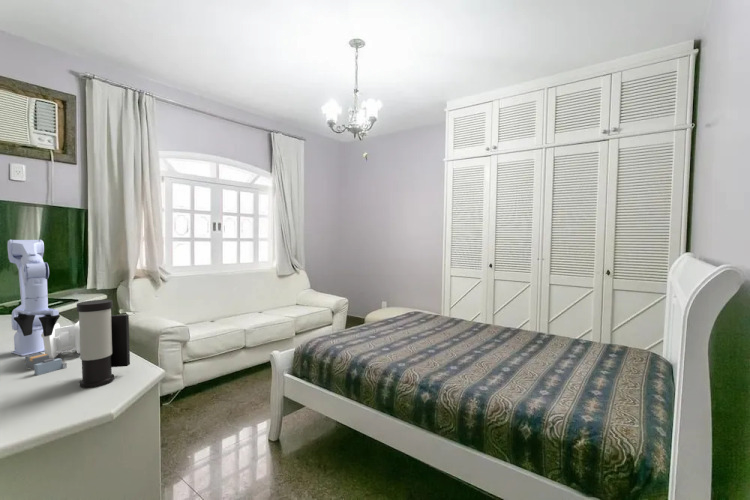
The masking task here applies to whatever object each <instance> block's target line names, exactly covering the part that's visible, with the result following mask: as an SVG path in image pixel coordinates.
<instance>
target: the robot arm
mask: <svg viewBox="0 0 750 500" xmlns="http://www.w3.org/2000/svg"><path fill="white" fill-rule="evenodd" d="M44 253H45V244H44V241H43V240H42V239H9V240H7V254H8V260H9V263H12V264H13V265H16V267H17V269H18V270H17V271H18V279H19V290H20V295H19V296H20V305H18V306H17V307H16V308H14V309H13V310H12V312H11V329H12V330H13V331H16V332H15V333H14V336H13V345H14V346H13V347H14V350H13V351H10V352H11V354H15V355H17V356H22V357H23V356H24V357H25V356H29V355H33V354H38V353H41V352H45V348H44V341H43V338H42V337H41V334H42V332H43V334H44V336H45V337H46V336H50V335H52V332H53V329H54V326H55V324H56V323H58V322H57V321H58V320H59V318H60V317H61V316H60V313H59V312H60V311H59V309H58V308H57V309H55V308H49V299H48V298H49V296H48V295H49V294H48V293H49V292H48V279H49V276H50V268H49V264H48V262H45V261H44V259H43V257H44Z"/></svg>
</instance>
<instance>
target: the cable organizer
mask: <svg viewBox="0 0 750 500" xmlns="http://www.w3.org/2000/svg"><path fill="white" fill-rule="evenodd" d="M41 337H42V338H43V341H44V348H45V351H44V354H48V355H49V359H56V358H57V356H58V355H59V354H60V355H62V354H63V352H66V351H67V352H68V351H71V352H72V353H73V352H74V351H76V353H77V354H79V355H80V334H79V320H78V321H77V322H76V323H74V324H70V325H65V326H61V325H60V323H59V322H56V324H55V326H54V329H53V332H52V335H50V336H46V337H45V336H44V334H43V332H42V334H41Z"/></svg>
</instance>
